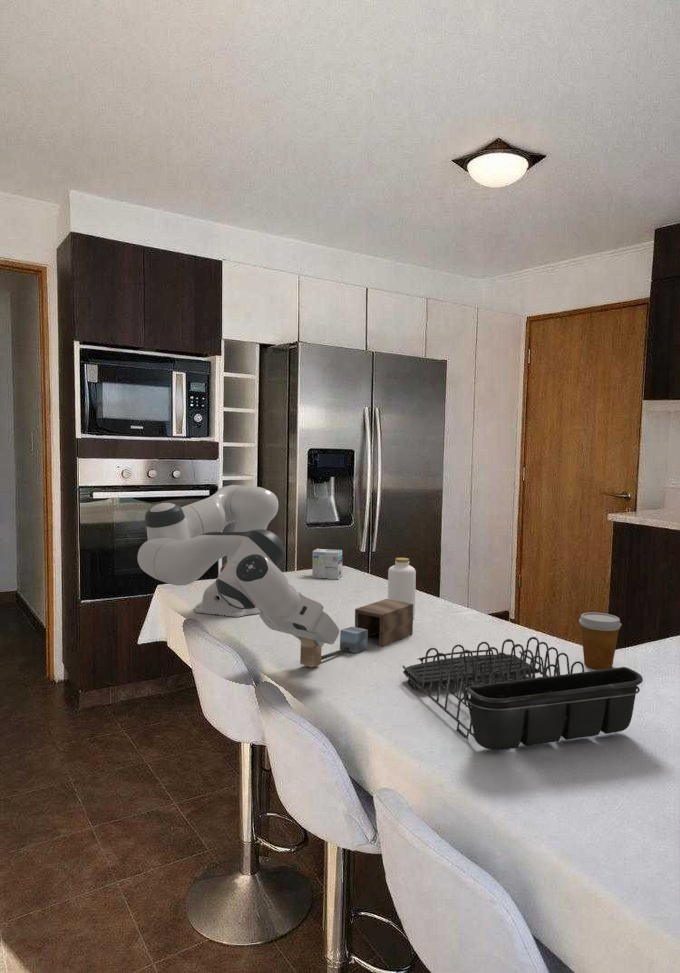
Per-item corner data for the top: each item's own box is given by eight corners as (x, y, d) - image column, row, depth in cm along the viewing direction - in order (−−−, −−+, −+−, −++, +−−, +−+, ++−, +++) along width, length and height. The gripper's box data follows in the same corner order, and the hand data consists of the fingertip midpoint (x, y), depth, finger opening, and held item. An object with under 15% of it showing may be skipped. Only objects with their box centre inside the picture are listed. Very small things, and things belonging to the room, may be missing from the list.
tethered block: (313, 667, 155) (315, 629, 155) (297, 663, 158) (299, 625, 158) (367, 649, 172) (368, 614, 171) (351, 645, 175) (352, 611, 174)
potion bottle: (414, 614, 207) (415, 556, 206) (415, 621, 199) (416, 561, 198) (387, 613, 208) (388, 555, 207) (387, 620, 200) (388, 560, 198)
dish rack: (481, 768, 111) (483, 697, 110) (387, 676, 153) (388, 625, 152) (651, 744, 120) (654, 678, 119) (518, 664, 162) (519, 615, 162)
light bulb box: (342, 576, 263) (342, 549, 262) (338, 580, 256) (338, 552, 256) (316, 575, 265) (316, 548, 265) (311, 578, 259) (312, 550, 258)
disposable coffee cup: (618, 662, 164) (620, 614, 164) (620, 674, 155) (623, 624, 155) (577, 657, 168) (578, 610, 167) (577, 669, 159) (579, 620, 158)
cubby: (382, 646, 174) (383, 614, 173) (354, 640, 179) (355, 608, 179) (412, 634, 186) (413, 603, 185) (385, 628, 191) (386, 598, 191)
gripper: (246, 612, 155) (274, 644, 163) (313, 629, 142) (341, 662, 151) (259, 590, 158) (287, 622, 166) (327, 604, 145) (353, 638, 154)
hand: (313, 641), depth 158 cm, fingers closed on tethered block, 3 cm apart
